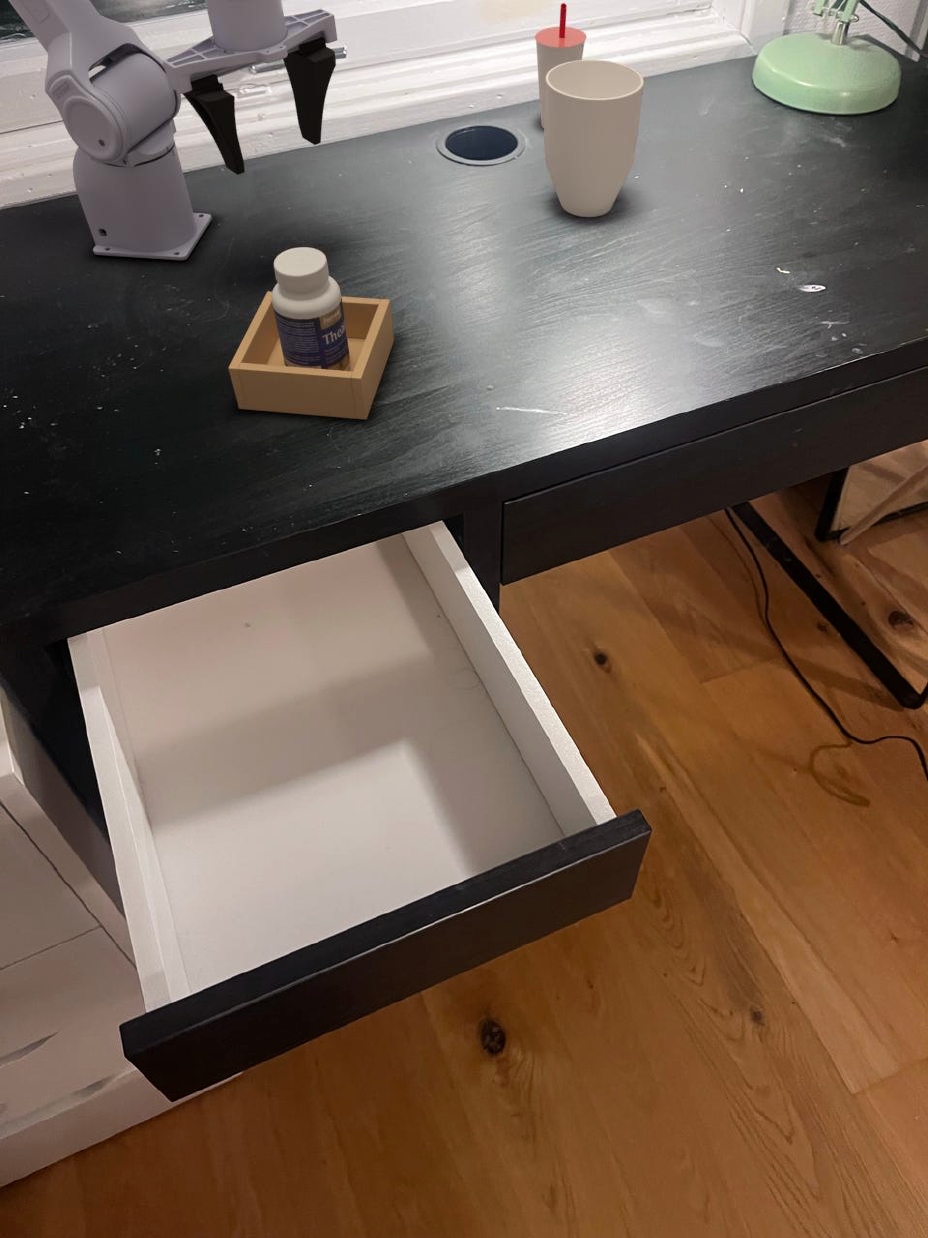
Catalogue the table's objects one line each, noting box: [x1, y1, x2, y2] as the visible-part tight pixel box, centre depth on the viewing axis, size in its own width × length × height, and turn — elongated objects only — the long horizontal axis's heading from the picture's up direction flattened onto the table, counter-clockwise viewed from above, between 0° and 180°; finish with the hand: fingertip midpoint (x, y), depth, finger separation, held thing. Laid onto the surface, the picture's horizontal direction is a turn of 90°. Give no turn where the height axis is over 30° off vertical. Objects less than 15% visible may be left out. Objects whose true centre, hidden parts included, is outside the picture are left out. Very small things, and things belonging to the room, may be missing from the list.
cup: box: [534, 2, 587, 129], centre depth 102 cm, size 5×5×12 cm
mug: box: [543, 59, 645, 218], centre depth 92 cm, size 12×9×12 cm
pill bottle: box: [271, 246, 350, 371], centre depth 75 cm, size 5×5×10 cm
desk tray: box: [228, 290, 395, 421], centre depth 78 cm, size 11×11×4 cm
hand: (274, 154), depth 82 cm, fingers open, 7 cm apart
